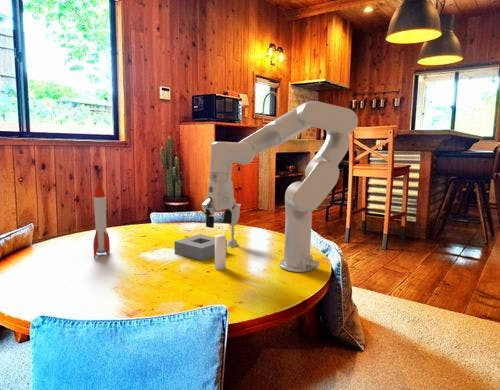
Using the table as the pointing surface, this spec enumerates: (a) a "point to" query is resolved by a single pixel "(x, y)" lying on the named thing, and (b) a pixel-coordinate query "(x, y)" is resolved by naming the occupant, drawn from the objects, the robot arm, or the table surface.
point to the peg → (220, 252)
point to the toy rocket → (100, 222)
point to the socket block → (196, 247)
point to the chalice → (235, 217)
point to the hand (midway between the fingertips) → (218, 225)
